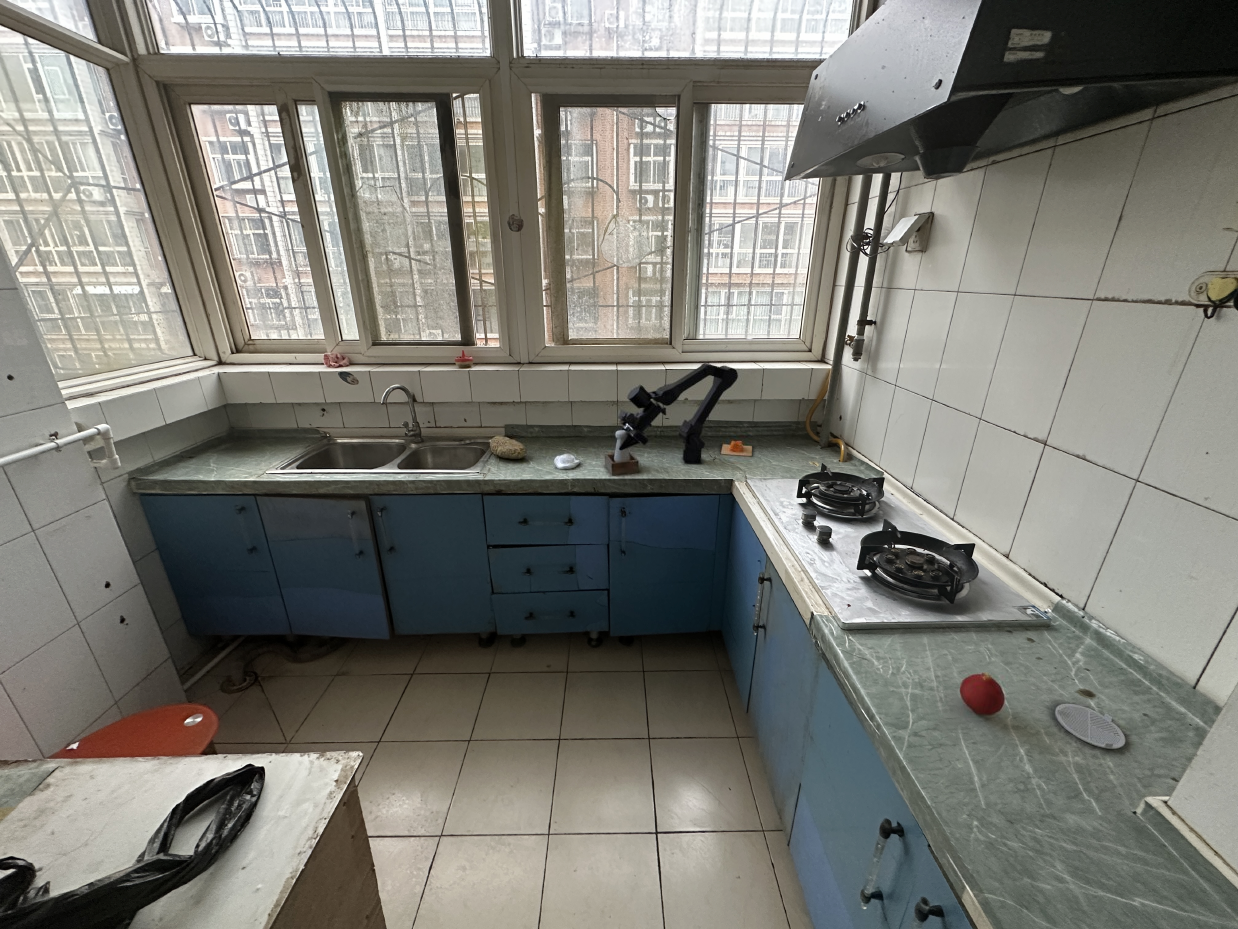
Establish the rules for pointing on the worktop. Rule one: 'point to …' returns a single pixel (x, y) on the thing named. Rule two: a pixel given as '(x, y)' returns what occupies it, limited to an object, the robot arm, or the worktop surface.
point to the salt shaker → (623, 454)
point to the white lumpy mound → (566, 461)
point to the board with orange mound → (736, 449)
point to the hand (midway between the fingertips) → (618, 448)
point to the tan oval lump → (507, 448)
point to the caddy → (621, 465)
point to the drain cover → (1090, 726)
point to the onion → (982, 694)
